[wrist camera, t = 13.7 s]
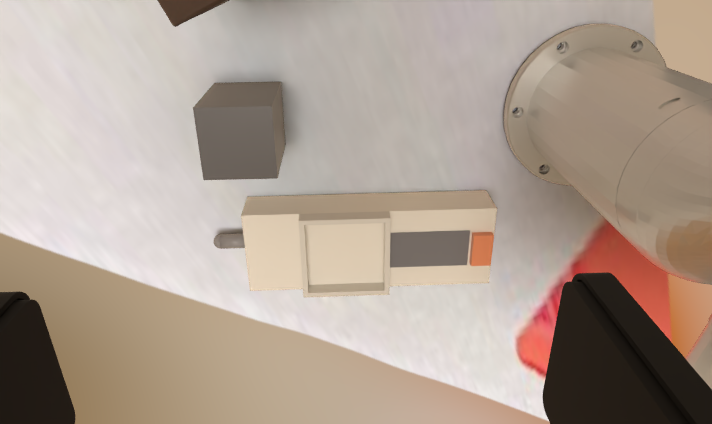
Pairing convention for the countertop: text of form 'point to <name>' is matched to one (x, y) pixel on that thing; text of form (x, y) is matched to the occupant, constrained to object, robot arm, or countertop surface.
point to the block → (241, 130)
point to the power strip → (365, 241)
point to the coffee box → (187, 9)
